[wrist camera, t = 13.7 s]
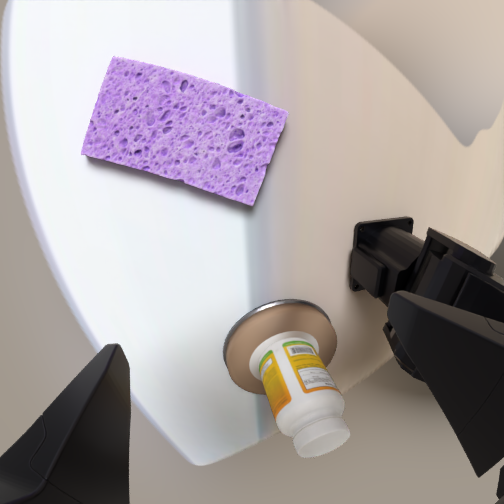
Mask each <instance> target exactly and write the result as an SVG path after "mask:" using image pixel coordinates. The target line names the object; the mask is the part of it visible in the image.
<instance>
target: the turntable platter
mask: <svg viewBox="0 0 504 504" xmlns="http://www.w3.org/2000/svg"><path fill="white" fill-rule="evenodd" d="M286 338H302V339H305V340H307V341H309V342H310V343H311V344H312V345H313V347H314V348H315V350H316V352H317V354H318V355H319V357H320V359H321V360H322V362H323V364H324V366H325V367H327V366H328V364H329V363H330V362H331V360H332V358H333V356H334V354H335V351H336V347H337V336H336V332H335V330H334V328H333V326H332V325H331V324H330V322H329V321H328V319H327V318H326V317H325V315H324V314H323V313H322V312H320V311H319V310H318V309H316V308H314V307H312V306H309V305H306V304H301V303H285V304H278V305H274V306H271V307H268V308H265V309H263V310H261V311H258V312H256V313H255V314H253V315H251V316H250V317H249V318H247V319H246V320H245V321H243V322H242V323H241V324H240V325H239V326H238V327H237V328H236V330H235V331H234V332H233V334H232V335H231V337H230V339H229V341H228V343H227V347H226V361H227V366H228V371H229V374H230V376H231V378H232V380H233V381H234V382H235V383H236V384H237V385H238V386H239V387H241V388H242V389H244V390H246V391H248V392H252V393H256V394H264V395H267V394H266V391H265V388H264V385H263V382H262V379H261V376H260V373H259V369H258V362H259V359H260V357H261V355H262V354H263V352H264V351H265V350H266V349H267V348H268V347H269V346H271V345H272V344H274V343H276V342H278V341H280V340H282V339H286Z"/></svg>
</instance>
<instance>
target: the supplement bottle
mask: <svg viewBox="0 0 504 504" xmlns="http://www.w3.org/2000/svg"><path fill="white" fill-rule="evenodd" d="M258 369H259V373H260V376H261V379H262V382H263V385H264V388H265V391H266V394H267V397H268V400H269V403H270V406H271V409H272V412H273V415H274V418H275V421H276V424H277V426H278V429H279V430H280V431H281V432H282V433H283V434H284V435H286V436H289V437H293V444H294V447H295V449H296V451H297V453H298V455H299V456H300V457H302V458H312V457H317V456H320V455H323V454H326V453H328V452H331V451H333V450H334V449H336V448H338V447H339V446H341V445H342V444H343V443H345V442H346V441H347V440H348V438H349V437H350V430H349V428H348V426H347V424H346V422H345V420H344V419H343V418H342V417H341V416H342V414H343V412H344V408H345V403H344V399H343V397H342V395H341V393H340V392H339V390H338V388H337V387H336V385H335V383H334V381H333V380H332V378H331V376H330V374H329V373H328V371H327V369H326V367H325V366H324V364H323V362H322V360H321V359H320V357H319V355H318V354H317V352H316V350H315V348H314V347H313V345H312V344H311V343H310V342H309V341H307V340H305V339H302V338H286V339H282V340H280V341H278V342H276V343H274V344H272V345H271V346H269V347H268V348H267V349H266V350H265V351H264V352H263V354H262V355H261V357H260V359H259V362H258Z"/></svg>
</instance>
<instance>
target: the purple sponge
mask: <svg viewBox="0 0 504 504" xmlns="http://www.w3.org/2000/svg"><path fill="white" fill-rule="evenodd" d="M288 114H289V112H287V111H285V110H283V109H280V108H277V107H274V106H272V105H270V104H268V103H266V102H264V101H261V100H258V99H255V98H252V97H250V96H248V95H244V94H241V93H238V92H236V91H234V90H233V89H230V88H227V87H224V86H222V85H220V84H218V83H213V82H209V81H207V80H204V79H202V78H197V77H195V76H192V75H189V74H186V73H182V72H179V71H175V70H171V69H166V68H164V67H161V66H157V65H153V64H147V63H144V62H140V61H136V60H130V59H125V58H121V57H115V56H113V58H112V60H111V62H110V65H109V67H108V70H107V73H106V75H105V77H104V81H103V83H102V86H101V89H100V92H99V94H98V100H97V102H96V104H95V108H94V110H93V114H92V117H91V119H90V124H89V126H88V130H87V132H86V136H85V140H84V143H83V147H82V151H81V155H87V156H89V157H93V158H97V159H102V160H106V161H110V162H113V163H116V164H120V165H125V166H128V167H131V168H136V169H139V170H144V171H147V172H150V173H153V174H157V175H160V176H162V177H166V178H169V179H173V180H179V181H182V182H184V183H185V184H189V185H191V186H194V187H197V188H200V189H203V190H205V191H209V192H211V193H215V194H218V195H220V196H223V197H226V198H228V199H232V200H235V201H238V202H241V203H244V204H247V205H250V206H253V204H254V201H255V199H256V197H257V194H258V192H259V189H260V187H261V184H262V182H263V179H264V177H265V171H266V168H267V165H268V164H269V163H270V160H271V157H272V155H273V153H274V150H275V145H276V143H277V141H278V138H279V136H280V133H281V132H282V130H283V128H284V125H285V121H286V119H287V117H288Z"/></svg>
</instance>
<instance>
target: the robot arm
mask: <svg viewBox="0 0 504 504" xmlns="http://www.w3.org/2000/svg"><path fill="white" fill-rule="evenodd" d="M408 222H409V223H408ZM361 227H362V230H360V228H361ZM412 230H413V219H412V218H411V217H399V218H390V219H382V220H373V221H365V222H359V223H357V225H356V226H355V236H354V248H353V251H352V262H351V273H350V274H351V281H350V288H351V289H352V290H353V291H354V292H355V291H360V290H364V289H366V290H367V291H368V292H369V293H370V294H371V295H372V296H373V297H374V298H379V299H380V300H381V301H382V302H383V303H384V304H385V305H386V306H387V307H388V311H387V316H388V319H389V320H388V322H387V323H386V324H385V326H384V327H383V331H384V333H385V335H386V337H387V340H388V342H389V344H390V346H391V349H392V351H393V353H394V355H395V358H396V360H397V362H398V364H399V365H400V367H401V368H402V369H403V370H405V371H406V372H407V373H409V374H410V375H411V376H412V377H414V378H416V379H418V380H421V381H423V382H425V383H426V384H427V386H428V387H429V389H430V390H431V392H432V394H433V395H434V397H435V399H436V400H437V402H438V404H439V405H440V407H441V409H442V410H443V412H444V414H445V416H446V418H447V419H448V421H449V423H450V425H451V426H452V428H453V430H454V432H455V434H456V435H457V438H458V440H459V441H460V443H461V445H462V447H463V449H464V451H465V453H466V455H467V457H468V459H469V461H470V463H471V465H472V467H473V469H474V471H475V473H476V475H477V476H478V477H481V476H482V475H483V474H484V473H486V472H487V471H488V470H489V469H490V468H492V467H493V466H494V465H495V464H496V463H498V462H499V461H500V460H501V459H502V458H503V457H504V279H503V278H501V277H500V276H498V275H496V274H495V273H494V271H495V268H496V266H497V264H496V263H495V262H493V261H492V260H491V259H489V258H488V257H486V256H485V255H484V254H482V253H481V252H479V251H478V250H476V249H474V248H472V247H471V246H469V245H467V244H465V243H463V242H461V241H459V240H457V239H455V238H453V237H451V236H448V235H446V234H444V233H441V232H439V231H437V230H434V229H432V228H430V227H429V228H428V231H427V237H426V240H425V241H423V240H421V239H419V238H418V237H416V236H414V235H412ZM355 285H356V287H355ZM130 419H131V400H130V368H129V363H128V361H127V359H126V356H125V354H124V352H123V350H122V348H121V346H120V345H119V344H117V343H116V344H107V345H106V346H105V347H104V348H103V349H102V350H101V351H100V352H99V353H98V354H97V355H96V356H95V357H94V358H93V359H92V360H91V361H90V362H89V363H88V365H87V366H85V368H84V369H83V370H82V371H81V372H80V373H79V374H78V375H77V376H76V377H75V378H74V379H73V380H72V381H71V383H70V384H69V385H68V386H67V387H66V388H65V389H64V390H63V391H62V392H61V393H60V395H59V396H58V397H57V398H56V399H55V400H54V401H53V402H52V403H51V404H50V406H49V407H48V408H47V409H46V410H45V411H44V412H43V415H41V416H40V417H39V418H38V419H37V420H36V421H35V422H34V424H33V425H32V426H31V427H30V428H29V429H28V430H27V431H26V432H25V433H24V434H23V435H22V436H21V437H20V438H19V439H18V440H17V441H16V442H15V443H14V444H13V445H12V446H11V447H10V448H9V449H8V450H7V451H6V452H5V453H4V454H3V455H2V456H1V457H0V504H129V503H130V502H129V439H130ZM496 495H497V497H498V498H499V500H498V501H497V502H496V503H495V504H504V465H503V466H502V468H501V469H500V475H499V482H498V488H497V494H496Z"/></svg>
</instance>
